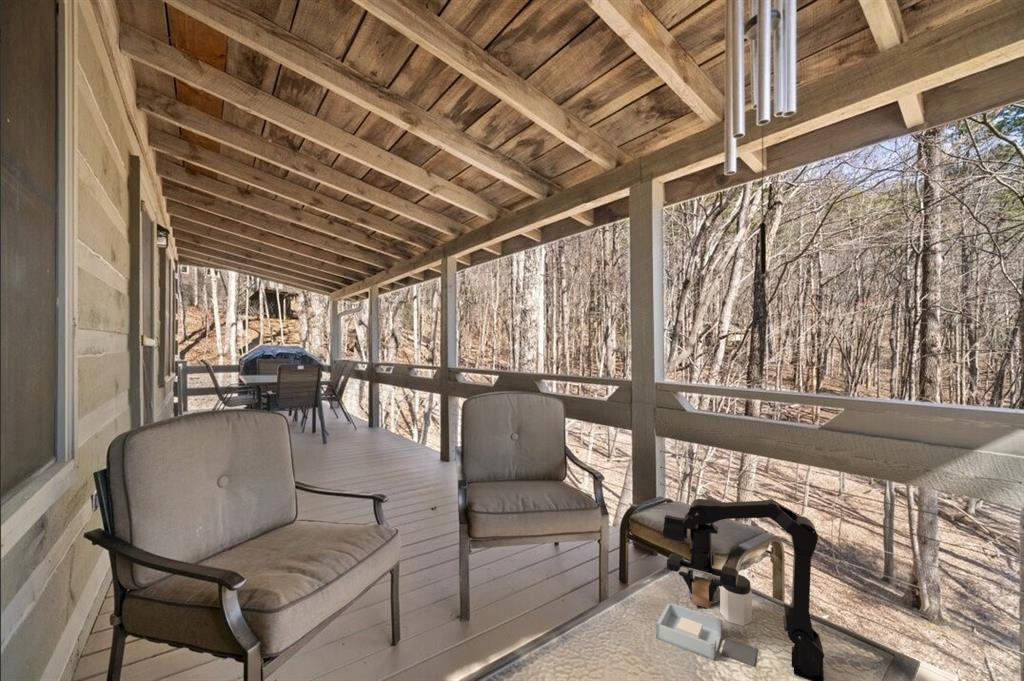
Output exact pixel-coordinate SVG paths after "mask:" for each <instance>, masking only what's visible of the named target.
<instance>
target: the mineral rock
mask: <svg viewBox="0 0 1024 681" xmlns="http://www.w3.org/2000/svg"><path fill="white" fill-rule="evenodd" d="M701 578H705V579H709V580H712V578H713V577H712V575H709V574H705V573H702V575H701ZM688 596H689V599H690V600H689V601H690V602H691V603H692V595H691V592H690V590H689V589H688ZM719 601H720V586H718V587H717V589H716V591H715V594H714V597H713V600H712V602H711V605H712V604H716V602H719ZM693 605H694V606H697V605H696V604H693Z"/></svg>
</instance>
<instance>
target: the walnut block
mask: <svg viewBox="0 0 1024 681" xmlns="http://www.w3.org/2000/svg"><path fill="white" fill-rule="evenodd" d="M710 586H711V580H709V579H705V578H701V577H700V576H697V575H695V576H693V581H692V602H691V604H693V605H694V604H696V605H695V606H699V607H702V608H706V609H710V607H711V605H712V604H711V602H710Z"/></svg>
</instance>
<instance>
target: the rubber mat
mask: <svg viewBox="0 0 1024 681" xmlns="http://www.w3.org/2000/svg"><path fill="white" fill-rule="evenodd" d="M757 653H758V647H754V646H752V645H750V644H746V643H743V642H740V641H737V640H735V639H732V638H729V637H727V636H726V637H725V639H724V643H723V646H722V649H721V653H720V655H722V656H724V657H727V658H730V659H732V660H735V661H737V662H740V663H744V665H745V664H746V665H748V666H751V667H754V668H755V665H756V664H755V663H756V658H757Z"/></svg>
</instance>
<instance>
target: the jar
mask: <svg viewBox="0 0 1024 681" xmlns="http://www.w3.org/2000/svg"><path fill="white" fill-rule="evenodd" d="M719 588H720V600H719V601H720V602H719V612H720V614H721V615H722V617H723V618H724V619H725V620H726V621H727V623H731V624H734V625H735V624H736V625H740V626H742V627H746V626H747V625H748V624H750V623H751V622H752V621H753V591H752V590H751V589H752V586H751V581H750V580H749V579H748V578H747V577H745V576H743V575H741V574H739V573H738V582H737V585H736V587H731V586H727V585H724V584H723V585H722V586H719Z"/></svg>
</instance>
